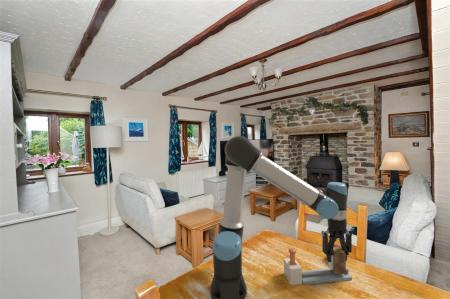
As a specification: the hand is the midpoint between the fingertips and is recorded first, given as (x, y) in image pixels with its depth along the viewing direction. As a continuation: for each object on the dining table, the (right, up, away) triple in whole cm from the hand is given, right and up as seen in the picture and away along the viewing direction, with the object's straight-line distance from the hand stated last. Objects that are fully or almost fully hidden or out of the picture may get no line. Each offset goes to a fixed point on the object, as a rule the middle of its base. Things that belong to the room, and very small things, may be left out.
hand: (336, 267), depth 97 cm
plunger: (-20, +3, -1) cm, 21 cm away
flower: (+5, -3, +12) cm, 13 cm away
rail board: (-6, -4, 0) cm, 7 cm away
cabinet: (-20, -4, -1) cm, 21 cm away
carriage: (0, -1, 0) cm, 1 cm away
